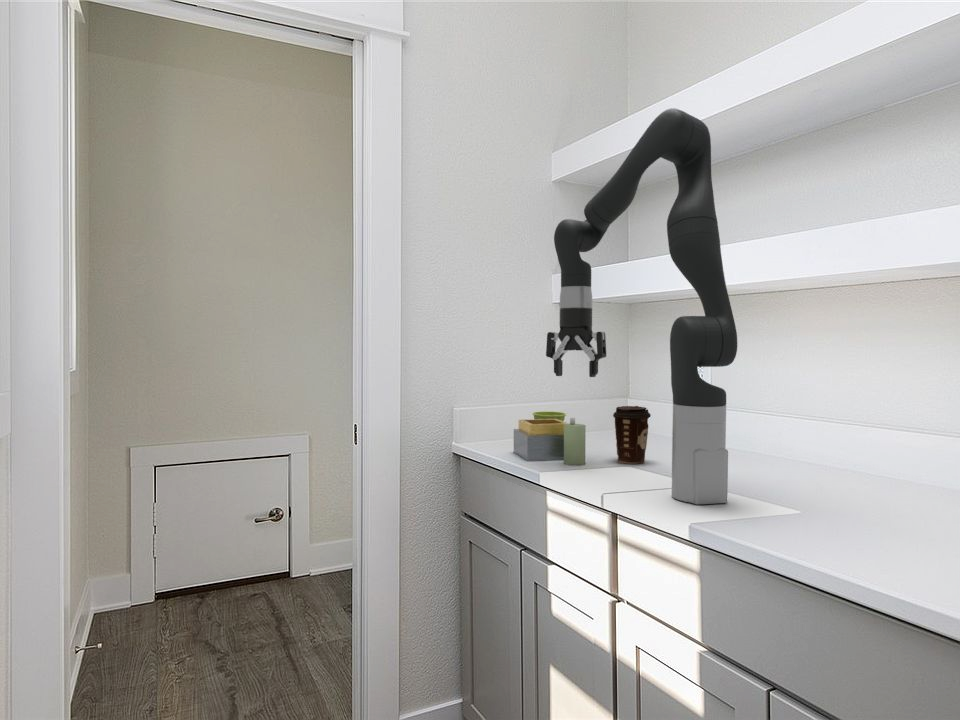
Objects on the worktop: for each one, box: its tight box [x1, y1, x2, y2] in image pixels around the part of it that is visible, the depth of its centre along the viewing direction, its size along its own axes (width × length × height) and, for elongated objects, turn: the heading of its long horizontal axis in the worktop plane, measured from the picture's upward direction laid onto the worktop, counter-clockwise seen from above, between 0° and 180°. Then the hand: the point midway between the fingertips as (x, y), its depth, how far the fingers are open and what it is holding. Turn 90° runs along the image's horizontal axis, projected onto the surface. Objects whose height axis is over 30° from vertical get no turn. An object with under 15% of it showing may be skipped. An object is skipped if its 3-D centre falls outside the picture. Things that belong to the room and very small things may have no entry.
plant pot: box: [531, 410, 567, 422], centre depth 176 cm, size 9×9×9 cm
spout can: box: [563, 417, 587, 466], centre depth 149 cm, size 5×5×10 cm
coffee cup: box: [612, 405, 652, 465], centre depth 152 cm, size 9×8×13 cm
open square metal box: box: [513, 418, 570, 462], centre depth 159 cm, size 12×12×8 cm
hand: (575, 376), depth 149 cm, fingers open, 8 cm apart
